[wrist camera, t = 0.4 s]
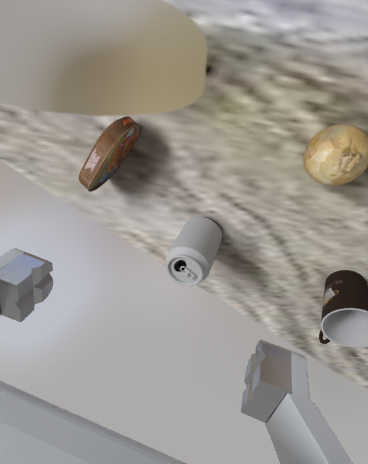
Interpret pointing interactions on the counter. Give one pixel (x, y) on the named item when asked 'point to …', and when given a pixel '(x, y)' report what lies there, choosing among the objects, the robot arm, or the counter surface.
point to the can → (194, 251)
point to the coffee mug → (345, 310)
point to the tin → (109, 152)
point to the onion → (337, 155)
